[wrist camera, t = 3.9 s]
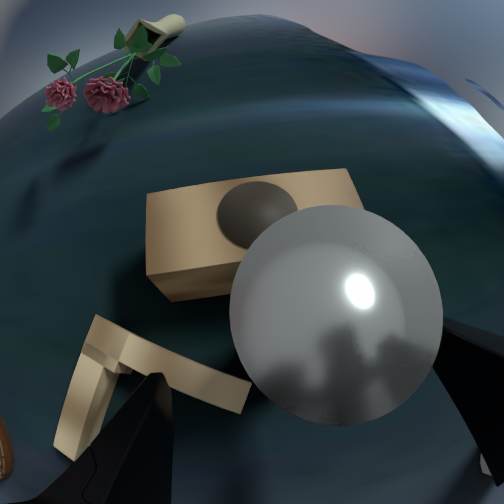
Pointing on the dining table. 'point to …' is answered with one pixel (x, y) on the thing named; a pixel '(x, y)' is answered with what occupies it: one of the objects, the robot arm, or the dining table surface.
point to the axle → (336, 315)
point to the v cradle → (124, 361)
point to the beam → (226, 225)
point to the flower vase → (105, 87)
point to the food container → (5, 452)
